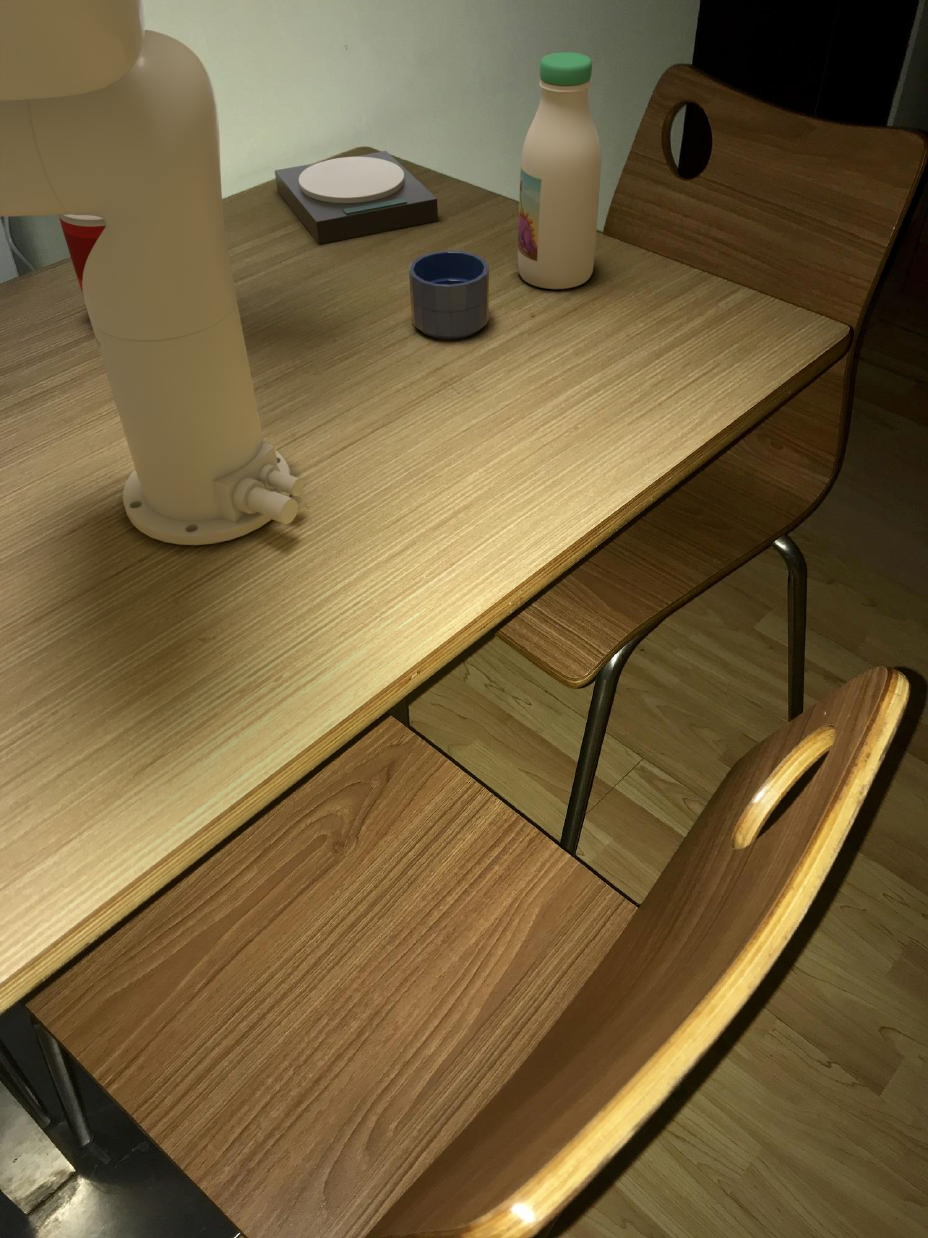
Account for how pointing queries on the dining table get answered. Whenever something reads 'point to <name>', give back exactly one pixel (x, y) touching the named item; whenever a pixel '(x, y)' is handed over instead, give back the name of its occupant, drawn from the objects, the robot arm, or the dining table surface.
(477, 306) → the cup
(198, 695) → the dining table surface
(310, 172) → the kitchen scale
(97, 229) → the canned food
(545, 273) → the milk bottle
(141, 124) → the robot arm
